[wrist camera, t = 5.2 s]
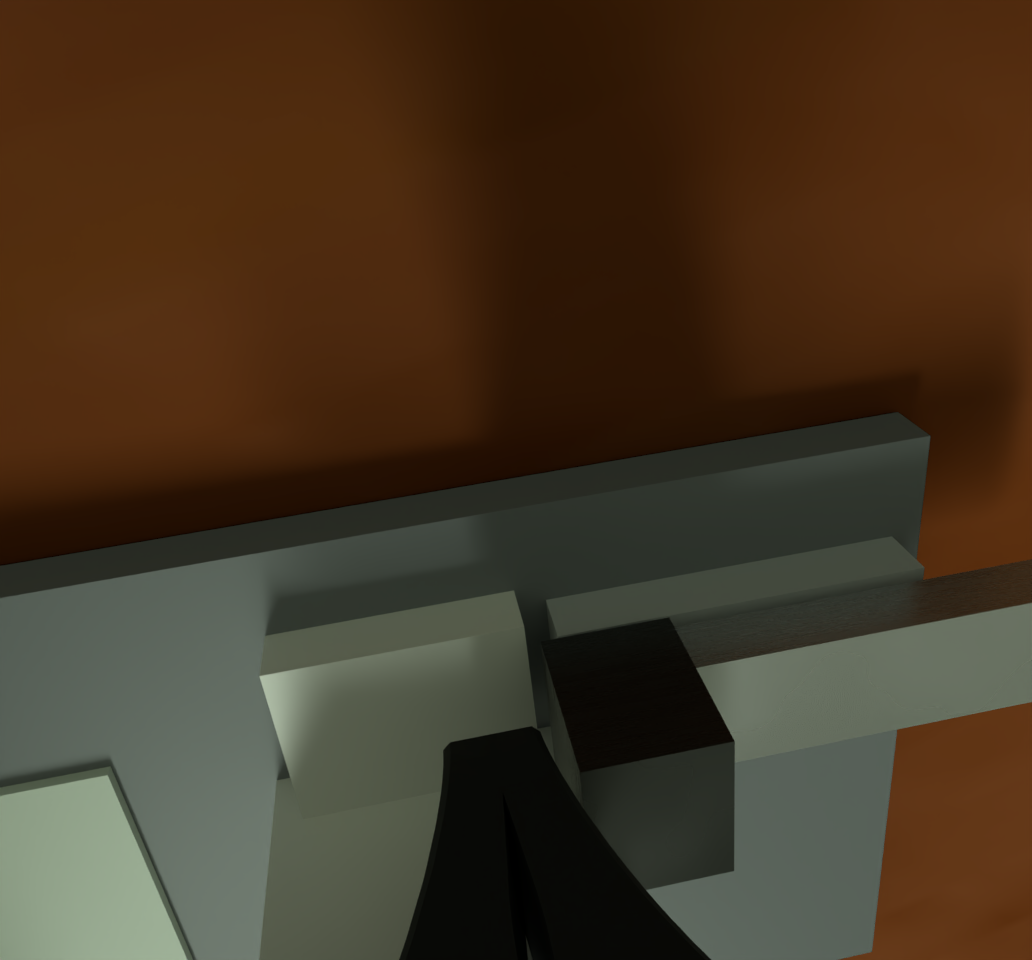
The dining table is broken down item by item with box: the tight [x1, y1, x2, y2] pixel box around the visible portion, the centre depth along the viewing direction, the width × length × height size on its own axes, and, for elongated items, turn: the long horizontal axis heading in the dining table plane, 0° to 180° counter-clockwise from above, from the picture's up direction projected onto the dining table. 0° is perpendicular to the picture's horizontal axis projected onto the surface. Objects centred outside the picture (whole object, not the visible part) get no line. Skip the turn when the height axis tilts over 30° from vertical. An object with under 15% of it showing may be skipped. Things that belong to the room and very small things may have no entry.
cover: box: [259, 591, 555, 960], centre depth 14 cm, size 8×5×5 cm, turn 6°
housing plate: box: [0, 412, 930, 960], centre depth 17 cm, size 13×21×2 cm, turn 96°
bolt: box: [540, 559, 1032, 890], centre depth 13 cm, size 2×8×3 cm, turn 96°
